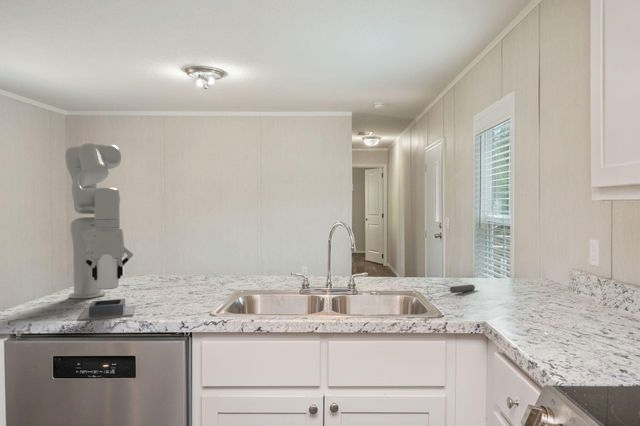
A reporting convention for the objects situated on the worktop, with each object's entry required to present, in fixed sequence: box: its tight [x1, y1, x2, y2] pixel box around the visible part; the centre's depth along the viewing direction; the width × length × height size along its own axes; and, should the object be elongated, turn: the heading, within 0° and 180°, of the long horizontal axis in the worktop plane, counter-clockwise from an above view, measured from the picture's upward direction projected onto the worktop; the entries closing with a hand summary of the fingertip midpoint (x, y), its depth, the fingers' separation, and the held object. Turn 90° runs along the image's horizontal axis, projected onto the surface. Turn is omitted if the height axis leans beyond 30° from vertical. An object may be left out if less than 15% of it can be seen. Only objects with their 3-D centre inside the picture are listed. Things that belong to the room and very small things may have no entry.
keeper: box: [76, 298, 136, 322], centre depth 142 cm, size 14×16×4 cm
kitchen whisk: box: [425, 282, 476, 301], centre depth 169 cm, size 6×34×6 cm, turn 131°
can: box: [97, 252, 120, 290], centre depth 141 cm, size 6×6×12 cm
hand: (107, 278), depth 141 cm, fingers closed on can, 6 cm apart
